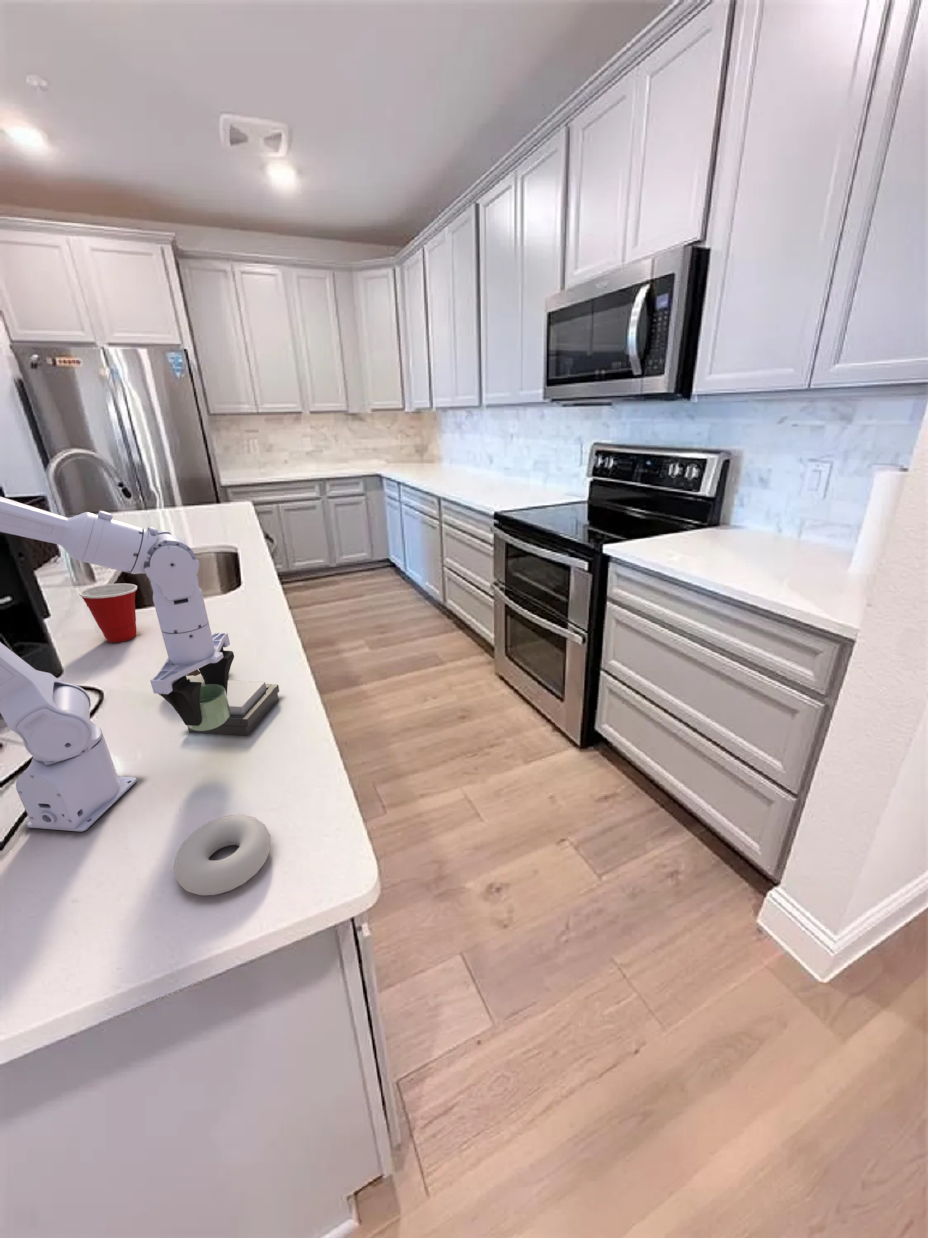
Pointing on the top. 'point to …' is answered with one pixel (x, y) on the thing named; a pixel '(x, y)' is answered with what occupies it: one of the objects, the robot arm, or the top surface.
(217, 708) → the bowl
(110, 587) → the plastic cup
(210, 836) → the donut
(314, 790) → the top surface
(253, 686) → the scale pan
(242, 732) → the scale
